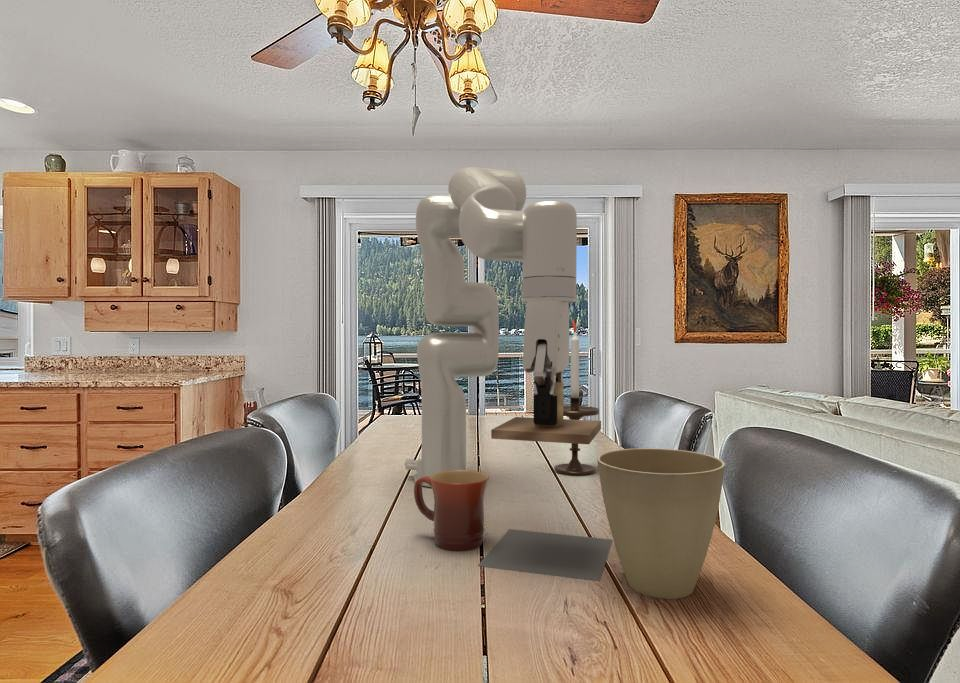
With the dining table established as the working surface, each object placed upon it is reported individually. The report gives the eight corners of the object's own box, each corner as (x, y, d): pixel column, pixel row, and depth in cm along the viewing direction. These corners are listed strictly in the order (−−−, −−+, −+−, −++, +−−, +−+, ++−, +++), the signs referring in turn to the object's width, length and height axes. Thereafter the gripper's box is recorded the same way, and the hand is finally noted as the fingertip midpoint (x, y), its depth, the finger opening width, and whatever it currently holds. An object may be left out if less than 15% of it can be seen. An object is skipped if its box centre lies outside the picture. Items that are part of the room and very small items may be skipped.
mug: (498, 541, 91) (498, 473, 91) (470, 561, 83) (470, 486, 83) (431, 529, 96) (431, 465, 96) (399, 546, 88) (399, 477, 88)
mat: (477, 569, 80) (477, 565, 80) (509, 532, 95) (509, 529, 95) (599, 584, 75) (599, 580, 75) (612, 543, 90) (612, 539, 90)
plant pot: (629, 557, 84) (629, 443, 84) (740, 585, 75) (741, 457, 75) (574, 592, 73) (574, 460, 72) (698, 631, 63) (698, 479, 63)
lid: (491, 438, 81) (491, 384, 81) (515, 424, 93) (515, 378, 93) (589, 444, 77) (589, 387, 77) (601, 429, 89) (601, 380, 89)
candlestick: (542, 468, 140) (542, 318, 140) (581, 464, 145) (581, 319, 145) (567, 478, 131) (568, 317, 130) (608, 474, 135) (609, 318, 135)
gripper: (536, 296, 94) (535, 413, 94) (507, 288, 78) (507, 429, 78) (584, 295, 91) (584, 415, 92) (565, 287, 76) (564, 433, 76)
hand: (548, 420), depth 85 cm, fingers closed on lid, 4 cm apart
